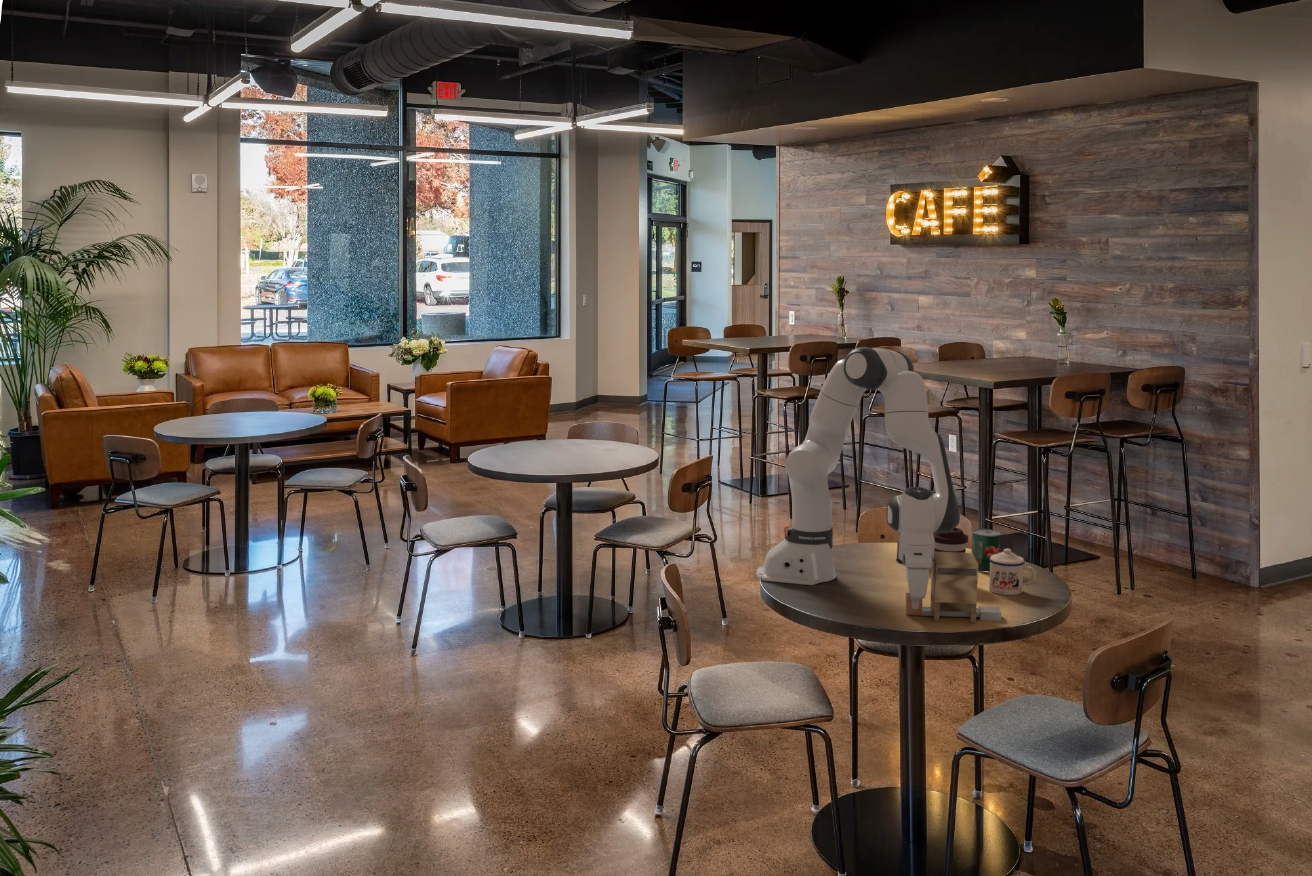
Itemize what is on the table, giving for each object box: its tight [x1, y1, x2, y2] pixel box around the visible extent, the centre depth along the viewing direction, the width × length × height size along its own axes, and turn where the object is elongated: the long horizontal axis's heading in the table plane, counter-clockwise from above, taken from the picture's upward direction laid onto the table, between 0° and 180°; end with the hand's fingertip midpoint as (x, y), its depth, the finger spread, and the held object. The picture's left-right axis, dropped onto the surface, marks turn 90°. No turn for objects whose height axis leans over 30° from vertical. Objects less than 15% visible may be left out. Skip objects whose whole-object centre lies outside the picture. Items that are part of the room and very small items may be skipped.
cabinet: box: [929, 552, 979, 624], centre depth 277 cm, size 10×11×15 cm
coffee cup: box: [934, 527, 969, 553], centre depth 307 cm, size 10×10×15 cm
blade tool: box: [904, 592, 980, 618], centre depth 278 cm, size 18×4×5 cm, turn 81°
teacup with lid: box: [988, 548, 1037, 596], centre depth 298 cm, size 12×9×12 cm
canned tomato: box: [971, 528, 1002, 572], centre depth 320 cm, size 8×8×11 cm
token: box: [977, 605, 1002, 622], centre depth 277 cm, size 5×5×2 cm
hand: (914, 605), depth 279 cm, fingers closed on blade tool, 3 cm apart
